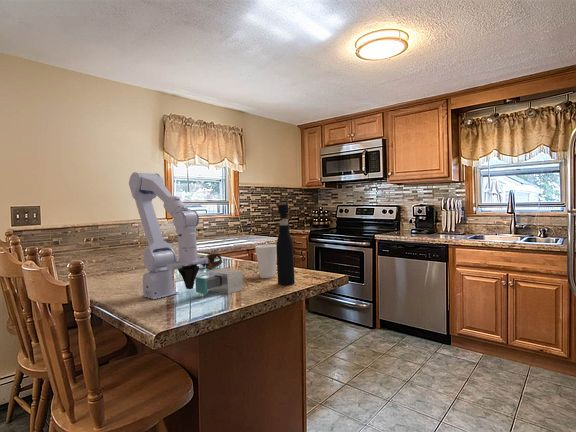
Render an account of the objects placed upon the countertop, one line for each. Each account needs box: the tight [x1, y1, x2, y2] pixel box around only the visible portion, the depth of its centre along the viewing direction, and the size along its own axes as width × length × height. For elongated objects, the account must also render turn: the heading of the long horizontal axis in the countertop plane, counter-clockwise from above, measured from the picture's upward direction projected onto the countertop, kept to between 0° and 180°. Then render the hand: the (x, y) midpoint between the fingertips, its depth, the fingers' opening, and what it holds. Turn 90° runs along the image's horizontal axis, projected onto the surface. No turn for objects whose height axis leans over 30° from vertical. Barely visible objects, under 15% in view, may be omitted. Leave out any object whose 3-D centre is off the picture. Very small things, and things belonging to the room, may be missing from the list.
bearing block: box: [208, 267, 244, 295], centre depth 125 cm, size 7×10×7 cm
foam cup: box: [254, 243, 277, 279], centre depth 145 cm, size 10×9×13 cm
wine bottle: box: [275, 204, 295, 287], centre depth 131 cm, size 6×6×30 cm
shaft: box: [194, 276, 222, 295], centre depth 120 cm, size 9×5×5 cm, turn 141°
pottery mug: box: [198, 252, 223, 271], centre depth 169 cm, size 12×10×8 cm
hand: (189, 288), depth 113 cm, fingers closed
